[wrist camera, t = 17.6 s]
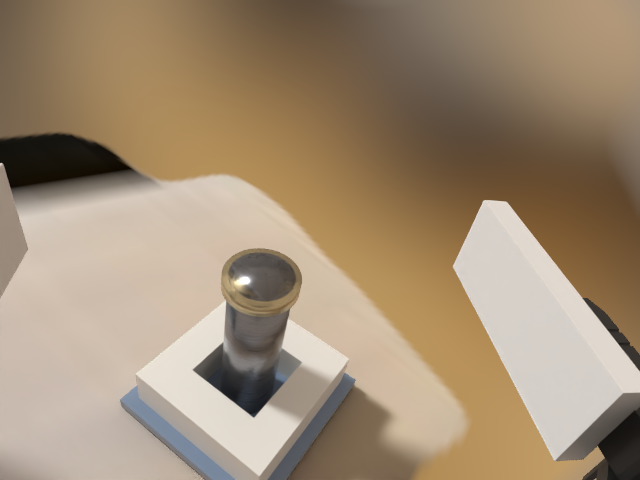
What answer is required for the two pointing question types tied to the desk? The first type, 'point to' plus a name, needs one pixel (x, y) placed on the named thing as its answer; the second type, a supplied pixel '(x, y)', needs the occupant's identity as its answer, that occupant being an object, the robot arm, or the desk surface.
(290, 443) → the socket block
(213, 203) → the desk surface
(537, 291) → the robot arm
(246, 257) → the grey metal peg
